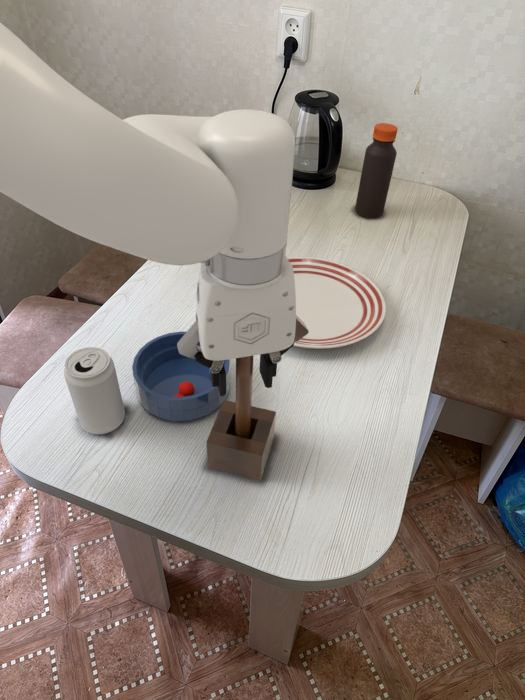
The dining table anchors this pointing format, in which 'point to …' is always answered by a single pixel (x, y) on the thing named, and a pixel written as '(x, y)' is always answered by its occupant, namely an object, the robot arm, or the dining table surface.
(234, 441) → the holder
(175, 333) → the bowl
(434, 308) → the dining table surface
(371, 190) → the bottle
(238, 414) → the stirring stick
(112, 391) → the beverage can
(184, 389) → the tomato
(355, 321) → the dinner plate
